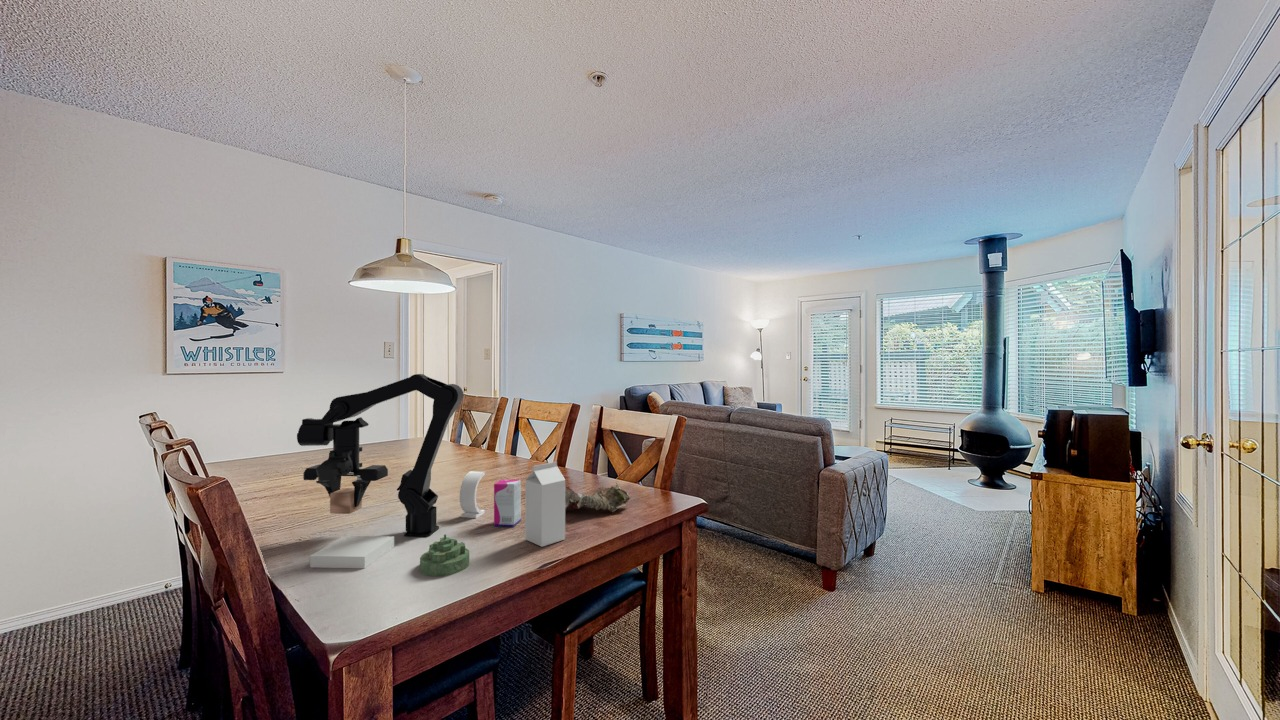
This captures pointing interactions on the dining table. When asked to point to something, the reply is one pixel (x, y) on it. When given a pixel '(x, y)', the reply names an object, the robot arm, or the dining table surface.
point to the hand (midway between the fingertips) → (346, 506)
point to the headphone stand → (470, 495)
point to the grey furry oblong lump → (597, 499)
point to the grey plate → (352, 552)
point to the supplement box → (507, 503)
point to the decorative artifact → (444, 558)
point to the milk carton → (545, 505)
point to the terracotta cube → (343, 501)
